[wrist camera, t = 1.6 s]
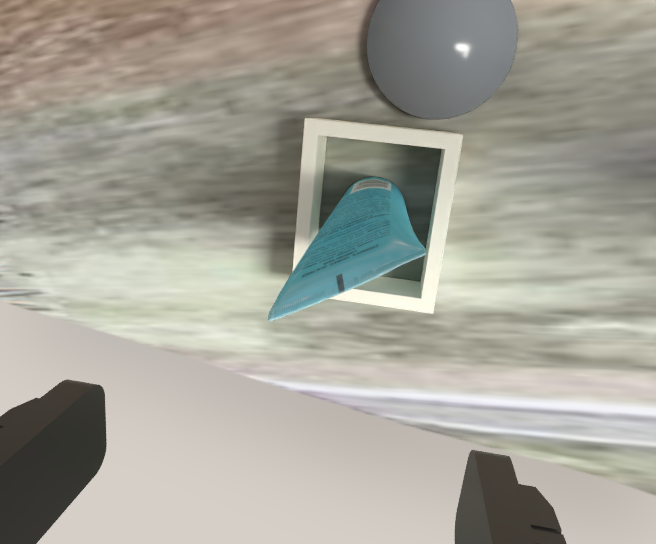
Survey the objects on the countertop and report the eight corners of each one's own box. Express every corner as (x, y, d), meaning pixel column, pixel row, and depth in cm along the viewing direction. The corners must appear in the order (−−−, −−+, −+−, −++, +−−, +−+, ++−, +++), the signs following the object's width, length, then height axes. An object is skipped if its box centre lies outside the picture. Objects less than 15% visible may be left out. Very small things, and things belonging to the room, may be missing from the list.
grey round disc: (529, -33, 34) (532, -36, 33) (499, 126, 37) (501, 126, 36) (377, -43, 35) (376, -46, 35) (359, 111, 38) (358, 111, 38)
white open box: (458, 132, 38) (463, 135, 34) (431, 295, 41) (433, 313, 38) (315, 118, 39) (304, 118, 35) (301, 276, 43) (290, 292, 39)
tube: (349, 257, 42) (298, 367, 23) (317, 204, 41) (239, 276, 23) (433, 210, 40) (448, 292, 21) (401, 154, 39) (390, 190, 21)
